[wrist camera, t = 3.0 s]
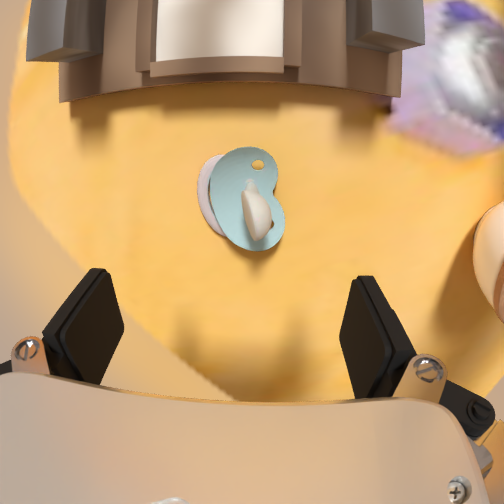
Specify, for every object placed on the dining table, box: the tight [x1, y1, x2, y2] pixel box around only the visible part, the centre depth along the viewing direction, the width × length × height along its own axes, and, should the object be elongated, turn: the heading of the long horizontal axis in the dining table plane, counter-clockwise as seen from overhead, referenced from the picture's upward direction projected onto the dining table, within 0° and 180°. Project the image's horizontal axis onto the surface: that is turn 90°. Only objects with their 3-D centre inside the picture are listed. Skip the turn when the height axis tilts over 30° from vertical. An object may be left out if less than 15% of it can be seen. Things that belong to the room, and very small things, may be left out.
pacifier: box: [197, 147, 285, 251], centre depth 19 cm, size 7×6×6 cm
